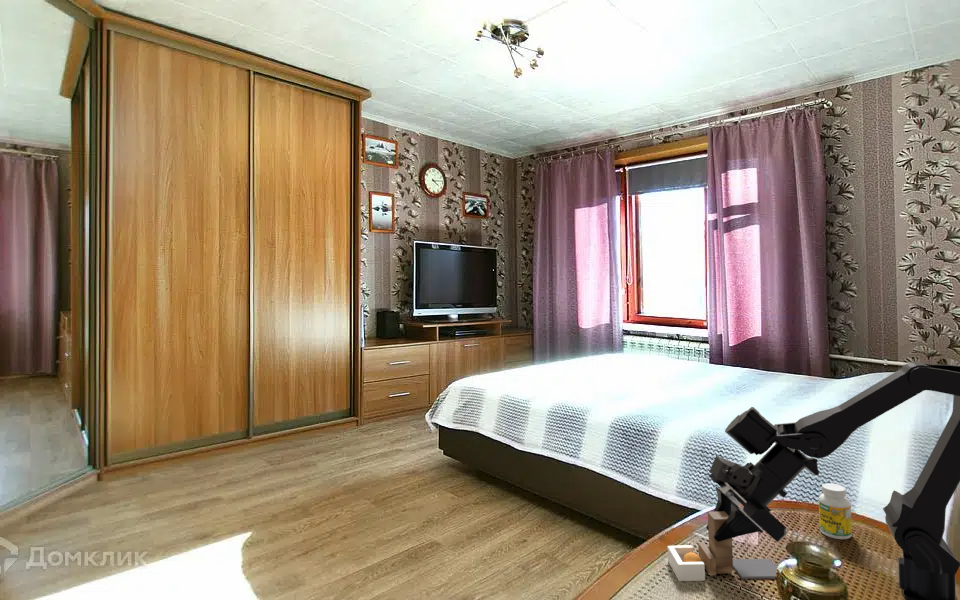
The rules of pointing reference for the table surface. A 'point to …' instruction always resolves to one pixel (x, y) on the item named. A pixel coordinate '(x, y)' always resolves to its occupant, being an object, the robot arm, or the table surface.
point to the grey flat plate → (755, 568)
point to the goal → (685, 564)
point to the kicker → (716, 547)
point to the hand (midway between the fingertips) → (711, 534)
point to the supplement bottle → (835, 512)
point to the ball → (691, 557)
